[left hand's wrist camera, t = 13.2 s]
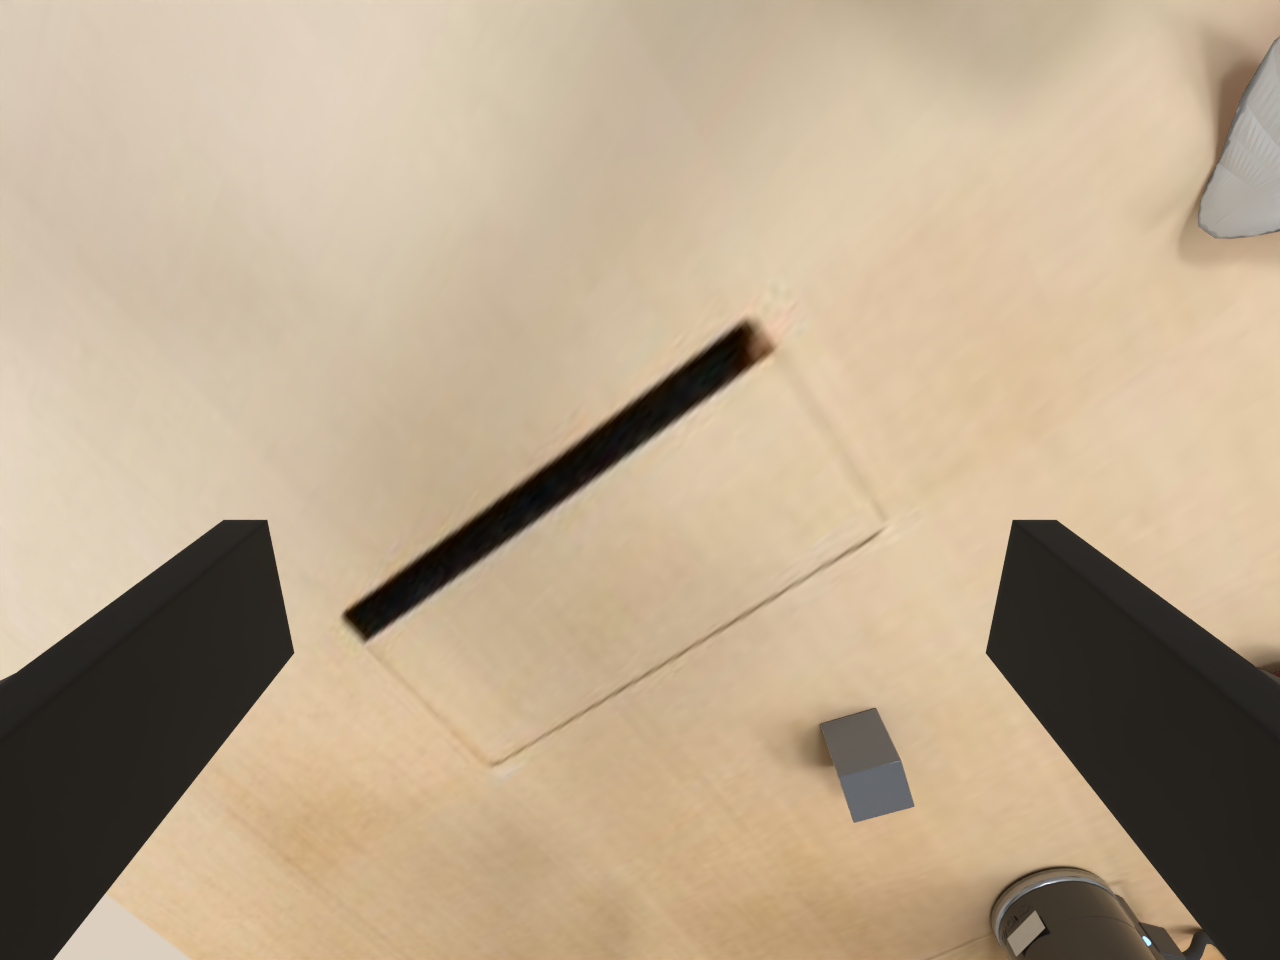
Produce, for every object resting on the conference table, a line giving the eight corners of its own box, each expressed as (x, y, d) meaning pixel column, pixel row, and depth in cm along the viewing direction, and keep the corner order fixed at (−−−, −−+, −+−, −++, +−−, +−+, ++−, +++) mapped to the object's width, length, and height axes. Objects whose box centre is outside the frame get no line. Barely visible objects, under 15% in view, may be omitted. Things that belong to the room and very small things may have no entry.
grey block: (819, 723, 49) (838, 777, 44) (876, 707, 49) (901, 760, 44) (833, 766, 50) (853, 823, 46) (889, 751, 50) (914, 807, 45)
